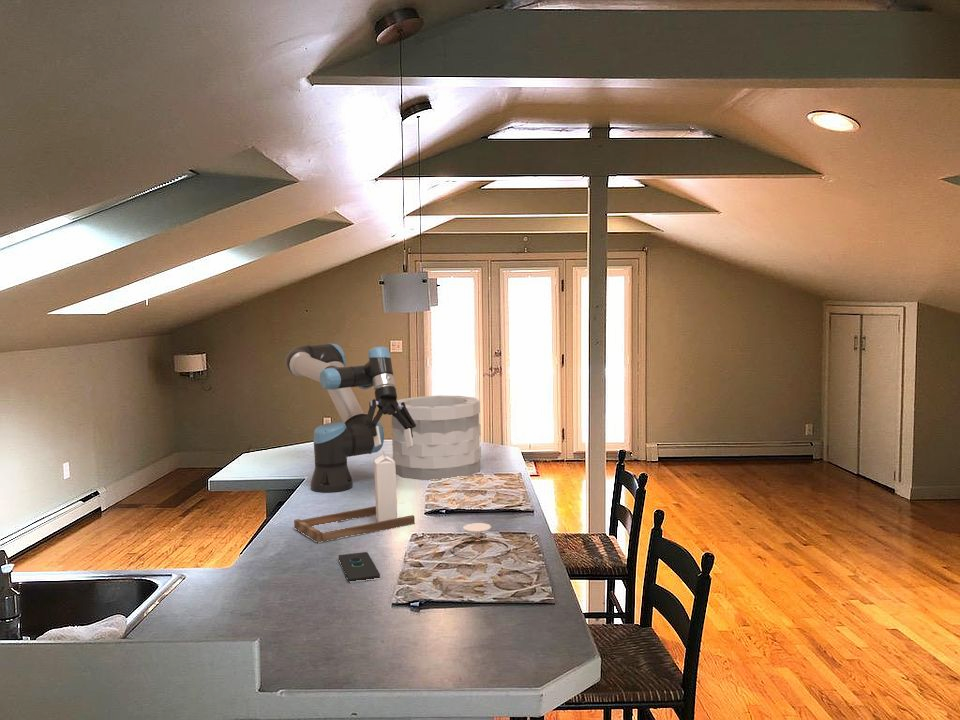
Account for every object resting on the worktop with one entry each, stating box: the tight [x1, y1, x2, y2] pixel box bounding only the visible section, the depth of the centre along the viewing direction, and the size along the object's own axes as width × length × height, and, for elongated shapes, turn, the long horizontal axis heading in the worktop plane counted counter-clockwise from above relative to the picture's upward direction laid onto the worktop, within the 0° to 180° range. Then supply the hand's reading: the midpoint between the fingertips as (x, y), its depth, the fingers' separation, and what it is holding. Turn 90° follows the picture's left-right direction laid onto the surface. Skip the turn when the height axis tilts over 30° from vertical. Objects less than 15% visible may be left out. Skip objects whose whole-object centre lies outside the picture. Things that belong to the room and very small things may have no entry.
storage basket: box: [391, 395, 482, 481], centre depth 337 cm, size 35×35×27 cm
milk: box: [373, 449, 398, 522], centre depth 268 cm, size 6×6×22 cm
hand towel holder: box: [462, 522, 498, 539], centre depth 239 cm, size 17×4×21 cm
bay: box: [293, 505, 416, 542], centre depth 262 cm, size 18×32×3 cm, turn 124°
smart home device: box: [338, 551, 381, 581], centre depth 224 cm, size 8×2×20 cm
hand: (394, 446), depth 292 cm, fingers open, 13 cm apart
